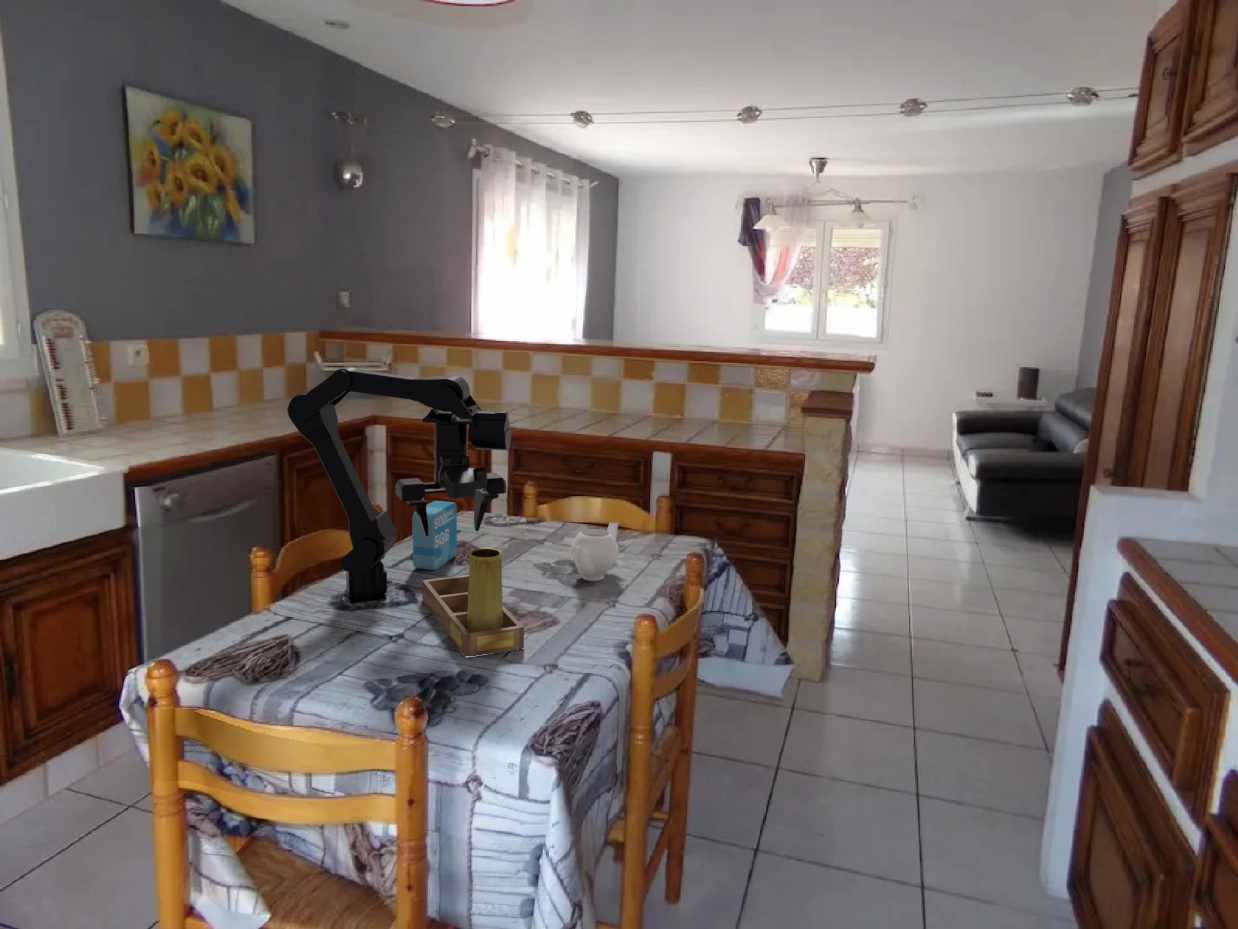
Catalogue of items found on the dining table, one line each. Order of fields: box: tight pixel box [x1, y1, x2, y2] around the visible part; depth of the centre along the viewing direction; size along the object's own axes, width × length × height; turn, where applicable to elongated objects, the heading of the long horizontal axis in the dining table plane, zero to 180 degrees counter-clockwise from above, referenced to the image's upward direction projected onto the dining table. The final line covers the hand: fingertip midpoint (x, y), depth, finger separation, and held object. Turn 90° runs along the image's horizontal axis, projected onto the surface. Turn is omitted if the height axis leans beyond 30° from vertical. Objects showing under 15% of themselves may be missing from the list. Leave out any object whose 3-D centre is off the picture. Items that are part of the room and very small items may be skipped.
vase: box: [467, 547, 503, 633], centre depth 139 cm, size 6×6×14 cm
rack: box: [421, 574, 525, 657], centre depth 148 cm, size 10×27×4 cm, turn 27°
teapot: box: [570, 521, 620, 582], centre depth 173 cm, size 10×20×9 cm, turn 156°
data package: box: [411, 500, 458, 571], centre depth 178 cm, size 12×4×12 cm, turn 167°
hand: (451, 533), depth 155 cm, fingers open, 9 cm apart
